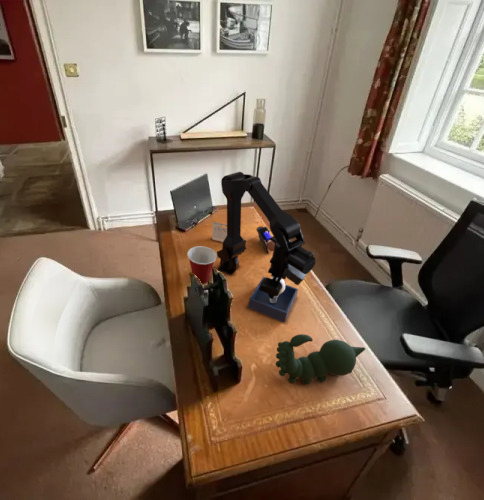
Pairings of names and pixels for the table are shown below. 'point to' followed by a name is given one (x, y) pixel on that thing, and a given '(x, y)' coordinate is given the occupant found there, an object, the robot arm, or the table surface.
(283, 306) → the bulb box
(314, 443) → the table surface
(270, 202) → the robot arm
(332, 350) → the toy figurine
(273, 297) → the lightbulb
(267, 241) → the character figurine
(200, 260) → the plastic cup
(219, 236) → the ink cartridge box
